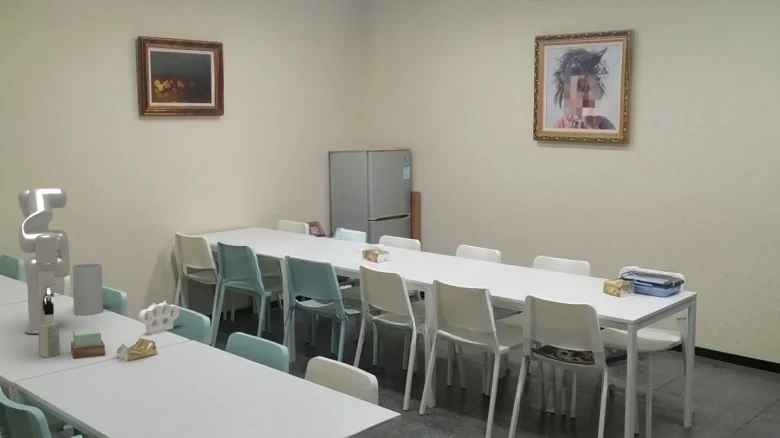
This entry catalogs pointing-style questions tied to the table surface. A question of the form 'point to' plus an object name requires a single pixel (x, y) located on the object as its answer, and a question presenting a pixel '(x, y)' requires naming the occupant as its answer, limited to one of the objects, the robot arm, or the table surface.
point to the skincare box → (49, 339)
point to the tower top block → (87, 337)
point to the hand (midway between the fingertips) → (48, 312)
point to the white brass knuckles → (159, 317)
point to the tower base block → (87, 351)
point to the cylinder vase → (87, 289)
